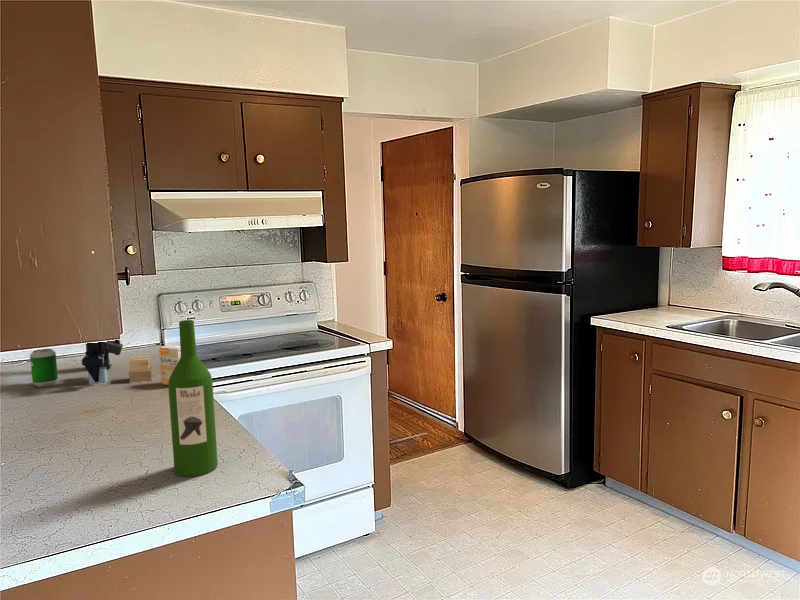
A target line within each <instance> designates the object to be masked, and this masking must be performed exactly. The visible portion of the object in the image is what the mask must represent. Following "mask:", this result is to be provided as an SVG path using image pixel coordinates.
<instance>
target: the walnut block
mask: <svg viewBox="0 0 800 600" xmlns="http://www.w3.org/2000/svg"><path fill="white" fill-rule="evenodd" d="M153 371H154V370H153V365H152V366H151V365H150V368H149V370H146V371H135V372H130V370H129V372H128V378H129V380H128V381H129V383H130V382H137V383H143V382H142V381H147V382H152V381H153V377H154V373H153Z"/></svg>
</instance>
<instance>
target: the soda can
mask: <svg viewBox="0 0 800 600" xmlns="http://www.w3.org/2000/svg"><path fill="white" fill-rule="evenodd" d="M29 359H30V360H29V361H30V366H31V367H30V368H31V370H30V371H31V379H32V384H33V385H35V386H36V387H37V386H38V388H39V387H40V388H42V387H43V386H45V387H50V385H51V386H54V385H56V384H55V383H57V382H58V381H59V374H58V365H57V353H56V351H55V350H54V349H52V348H43V349H42V348H41V349H36V350H33V351H32V352H31V353H30V354H29ZM53 384H54V385H53ZM43 388H44V387H43Z"/></svg>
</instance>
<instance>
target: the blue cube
mask: <svg viewBox="0 0 800 600" xmlns="http://www.w3.org/2000/svg"><path fill="white" fill-rule="evenodd" d="M107 370H108V369H106V367H100V374H99V382H95V381H94V380H93V378H92V377H91V375H90V373H89V372H88V371H87V372H88V373H87V374H88V385H89V386H92V385H91V384H97V385H100V384H99V383H106V384H107V382H108V372H107ZM106 381H107V382H106Z"/></svg>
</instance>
